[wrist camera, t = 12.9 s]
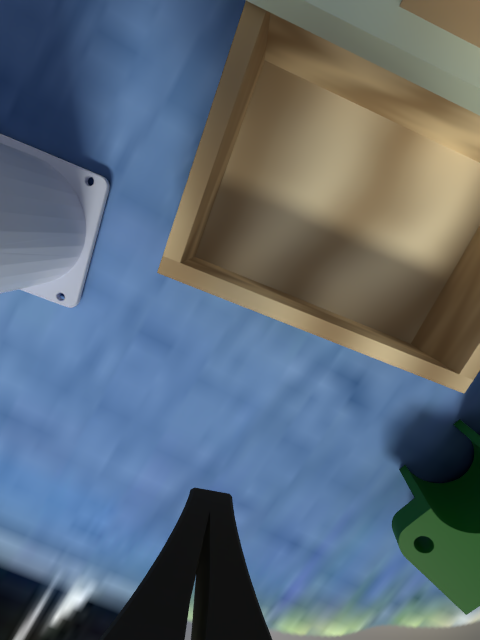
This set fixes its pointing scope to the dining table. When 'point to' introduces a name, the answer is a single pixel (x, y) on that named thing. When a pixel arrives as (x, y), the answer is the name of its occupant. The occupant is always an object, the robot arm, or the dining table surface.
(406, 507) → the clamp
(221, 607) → the robot arm
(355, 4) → the lid
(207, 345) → the dining table surface
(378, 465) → the dining table surface
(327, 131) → the tan shallow box
